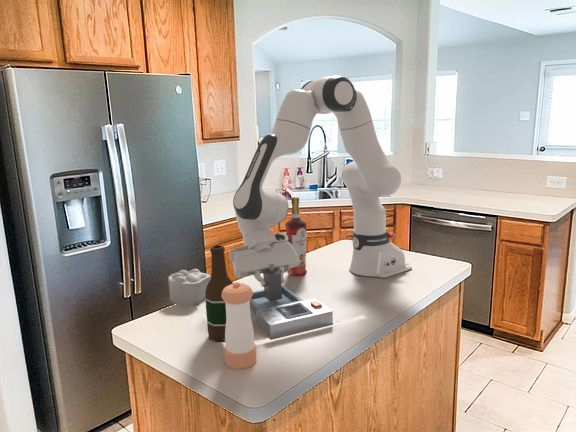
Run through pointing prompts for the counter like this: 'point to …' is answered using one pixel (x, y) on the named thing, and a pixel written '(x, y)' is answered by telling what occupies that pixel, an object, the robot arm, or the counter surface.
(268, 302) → the tray
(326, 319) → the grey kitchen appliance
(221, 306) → the beer bottle
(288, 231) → the liquor
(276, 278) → the plug
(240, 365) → the pepper shaker
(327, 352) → the counter surface
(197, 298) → the lumpy-topped squat cylinder
